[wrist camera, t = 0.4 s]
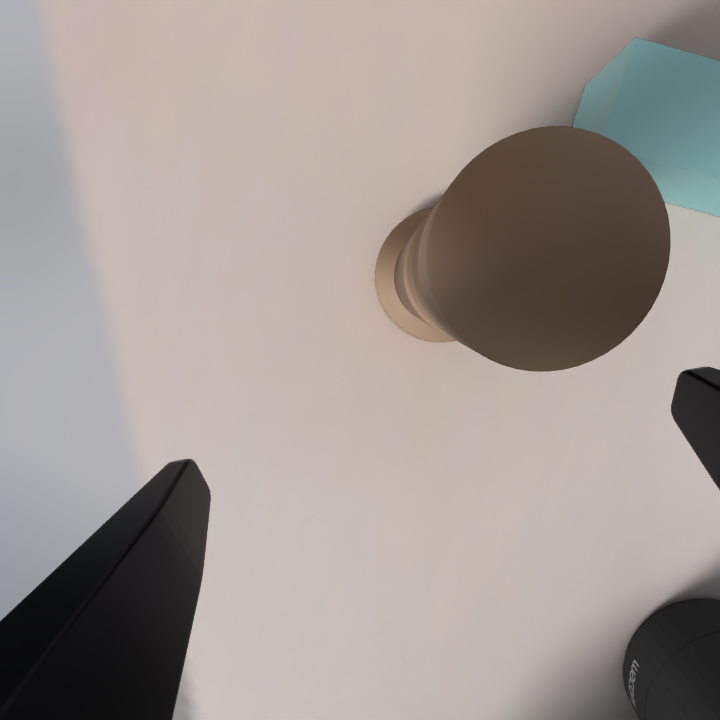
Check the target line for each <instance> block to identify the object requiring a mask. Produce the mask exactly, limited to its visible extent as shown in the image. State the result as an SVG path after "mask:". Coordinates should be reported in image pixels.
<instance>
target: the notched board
mask: <svg viewBox="0 0 720 720" xmlns="http://www.w3.org/2000/svg"><path fill="white" fill-rule="evenodd" d="M572 127H574V128H581V129H585V130H588V131H592V132H595V133H598V134H601V135H603V136H605V137H607V138H609V139H611V140H613V141H615V142H616V143H618V144H620V145H621V146H623V147H624V148H626V149H627V150H628V151H629V152H630V153H631V154H633V155H634V156H635V157H636V158H637V159H638V160H639V161H640V162H641V163H642V165H643V166H644V167H645V168H646V169H647V170H648V172H649V173H650V175H651V176H652V178H653V180H654V181H655V183H656V184H657V186H658V189H659V191H660V193H661V195H662V198H663V200H664V202H667V203H671V204H674V205H678V206H682V207H685V208H689V209H692V210H696V211H700V212H703V213H707V214H710V215H714V216H718V217H720V61H718V60H715V59H711V58H707V57H704V56H700V55H697V54H693V53H690V52H686V51H683V50H679V49H676V48H672V47H669V46H665V45H662V44H658V43H654V42H651V41H647V40H644V39H640V38H637V37H636V38H635V39H634V40H632V41H631V42H630V43H629V44H628V45H627V46H626V47H625V48H624V49H623V50H622V51H621V52H620V53H619V54H618V55H617V56H616V57H615V58H614V59H613V60H612V61H611V62H609V63H608V64H607V65H606V66H605V67H604V68H603V69H602V70H601V71H600V72H599V73H598V74H597V75H596V76H595V77H594V78H593V79H592V80H591V81H590V82H589V83H587V84H586V85H585V88H584V91H583V95H582V98H581V101H580V104H579V107H578V110H577V113H576V116H575V119H574V123H573V126H572Z"/></svg>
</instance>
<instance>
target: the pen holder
mask: <svg viewBox="0 0 720 720" xmlns="http://www.w3.org/2000/svg"><path fill="white" fill-rule="evenodd" d="M623 679H624V685H625V689H626V692H627V695H628V697H629V699H630V701H631V703H632V705H633V707H634V709H635V711H636V712H637V714H638V716H639V718H640V720H720V600H708V599H695V600H688V601H683V602H680V603H676V604H673V605H671V606H668V607H666V608H664V609H662V610H660V611H658V612H657V613H655V614H654V615H652V616H651V617H650V618H649V619H647V620H646V621H645V622H644V623H643V624H642V625H641V626H640V627H639V629H638V630H637V631H636V632H635V634H634V635H633V637H632V639H631V641H630V643H629V645H628V647H627V650H626V653H625V658H624V664H623Z"/></svg>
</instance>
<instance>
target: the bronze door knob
mask: <svg viewBox="0 0 720 720" xmlns="http://www.w3.org/2000/svg"><path fill="white" fill-rule="evenodd" d="M669 255H670V226H669V219H668V214H667V210H666V207H665V203H664V200H663V198H662V195H661V193H660V191H659V189H658V186H657V184H656V183H655V181H654V180H653V178H652V176H651V175H650V173H649V172H648V170H647V169H646V168H645V167H644V166H643V165H642V163H641V162H640V161H639V160H638V159H637V158H636V157H635V156H634V155H633V154H631V153H630V152H629V151H628V150H627V149H626V148H624V147H623V146H621V145H620V144H618V143H616V142H615V141H613V140H611V139H609V138H607V137H605V136H603V135H601V134H598V133H595V132H592V131H588V130H585V129H581V128H574V127H567V126H549V127H541V128H534V129H530V130H526V131H523V132H519V133H516V134H514V135H511V136H509V137H507V138H504V139H502V140H500V141H498V142H497V143H495V144H493V145H492V146H490V147H488V148H487V149H485V150H484V151H483V152H481V153H480V154H479V155H478V156H476V157H475V158H474V159H473V160H472V161H471V162H470V163H469V164H468V165H467V166H466V167H465V168H464V169H463V170H462V171H461V172H460V173H459V175H458V176H457V177H456V178H455V180H454V181H453V182H452V184H451V185H450V186H449V188H448V189H447V190H446V192H445V193H444V194H443V196H442V197H441V198H440V200H439V201H438V202H437V204H436V205H435V206H434V207H433V208H429V209H425V210H422V211H419V212H417V213H414V214H413V215H411V216H409V217H407V218H406V219H405V220H403V221H402V222H401V223H399V224H398V225H397V226H396V227H395V228H394V229H393V230H392V232H391V233H390V234H389V236H388V237H387V238H386V240H385V242H384V244H383V245H382V248H381V250H380V252H379V256H378V259H377V263H376V269H375V285H376V291H377V295H378V298H379V301H380V303H381V305H382V307H383V309H384V311H385V312H386V314H387V315H388V317H389V318H390V319H391V320H392V321H393V322H394V323H395V324H396V326H398V327H399V328H400V329H401V330H403V331H404V332H406V333H408V334H409V335H411V336H413V337H416V338H418V339H421V340H425V341H430V342H451V341H456V340H457V341H458V342H460V343H462V344H464V345H465V346H467V347H469V348H471V349H472V350H474V351H476V352H478V353H479V354H481V355H483V356H484V357H486V358H488V359H490V360H492V361H494V362H497V363H499V364H501V365H504V366H508V367H511V368H515V369H520V370H527V371H556V370H563V369H568V368H572V367H576V366H579V365H582V364H584V363H587V362H590V361H592V360H594V359H596V358H598V357H600V356H602V355H604V354H606V353H607V352H609V351H610V350H612V349H613V348H614V347H616V346H617V345H619V344H620V343H621V342H622V341H623V340H625V339H626V338H627V337H628V336H629V335H630V334H631V333H632V332H633V331H634V330H635V329H636V328H637V327H638V325H639V324H640V323H641V322H642V321H643V319H644V318H645V316H646V315H647V314H648V312H649V311H650V309H651V308H652V306H653V304H654V302H655V300H656V298H657V296H658V295H659V292H660V290H661V287H662V284H663V282H664V279H665V275H666V271H667V267H668V263H669Z"/></svg>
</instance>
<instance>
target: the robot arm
mask: <svg viewBox="0 0 720 720" xmlns="http://www.w3.org/2000/svg"><path fill="white" fill-rule="evenodd" d="M671 412H672V416H673V419H674V420H675V422H676V424H677V425H678V427H679V428H680V430H681V431H682V433H683V435H684V436H685V438H686V439H687V441H688V442H689V444H690V445H691V447H692V448H693V450H694V452H695V453H696V455H697V456H698V458H699V459H700V461H701V462H702V464H703V465H704V467H705V469H706V470H707V472H708V473H709V475H710V476H711V478H712V479H713V481H714V482H715V484H716V485H717V487H718V488H719V490H720V370H718V369H715V368H711V367H700V368H694V369H688V370H685V371H683V372H681V373H680V375H679V376H678V379H677V383H676V387H675V392H674V396H673V400H672V404H671ZM210 501H211V495H210V490H209V487H208V485H207V483H206V481H205V479H204V477H203V475H202V474H201V472H200V470H199V468H198V466H197V464H196V463H195V461H193V460H192V459H183V460H178V461H173V462H170V463H168V464H167V465H166V466H165V467H164V468H163V469H162V470H161V471H160V472H158V473H157V474H156V475H155V476H154V477H153V478H152V479H151V480H150V481H149V482H148V483H147V484H146V485H145V486H144V487H143V488H141V489H140V490H139V491H138V492H137V493H136V494H135V495H134V496H133V497H132V498H131V499H130V500H129V501H128V502H127V503H126V504H124V506H122V507H121V508H120V509H119V510H118V511H117V512H116V513H115V514H114V515H113V516H112V517H111V518H110V519H109V520H107V521H106V522H105V523H104V524H103V525H102V526H101V527H100V528H99V529H98V530H97V531H96V532H95V533H94V534H93V535H92V536H91V537H89V538H88V539H87V540H86V541H85V542H84V543H83V544H82V545H81V546H80V547H79V548H78V549H77V550H76V551H74V552H73V553H72V554H71V555H70V556H69V557H68V558H67V559H66V560H65V561H64V562H63V563H62V564H61V565H60V566H59V567H58V568H56V569H55V570H54V571H53V572H52V573H51V574H50V575H49V576H48V577H47V578H46V579H45V580H44V581H43V582H41V583H40V584H39V585H38V586H37V587H36V588H35V589H34V590H33V591H32V592H31V593H30V594H29V595H28V596H27V597H26V598H24V599H23V600H22V601H21V602H20V603H19V604H18V605H17V606H16V607H15V608H14V609H13V610H12V611H11V612H10V613H9V614H7V615H6V617H4V618H3V619H2V620H1V621H0V720H172V718H173V713H174V709H175V704H176V699H177V694H178V690H179V685H180V681H181V676H182V671H183V667H184V662H185V657H186V653H187V648H188V643H189V639H190V634H191V629H192V625H193V620H194V615H195V610H196V606H197V601H198V596H199V592H200V587H201V581H202V576H203V568H204V560H205V550H206V540H207V531H208V521H209V511H210Z"/></svg>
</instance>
